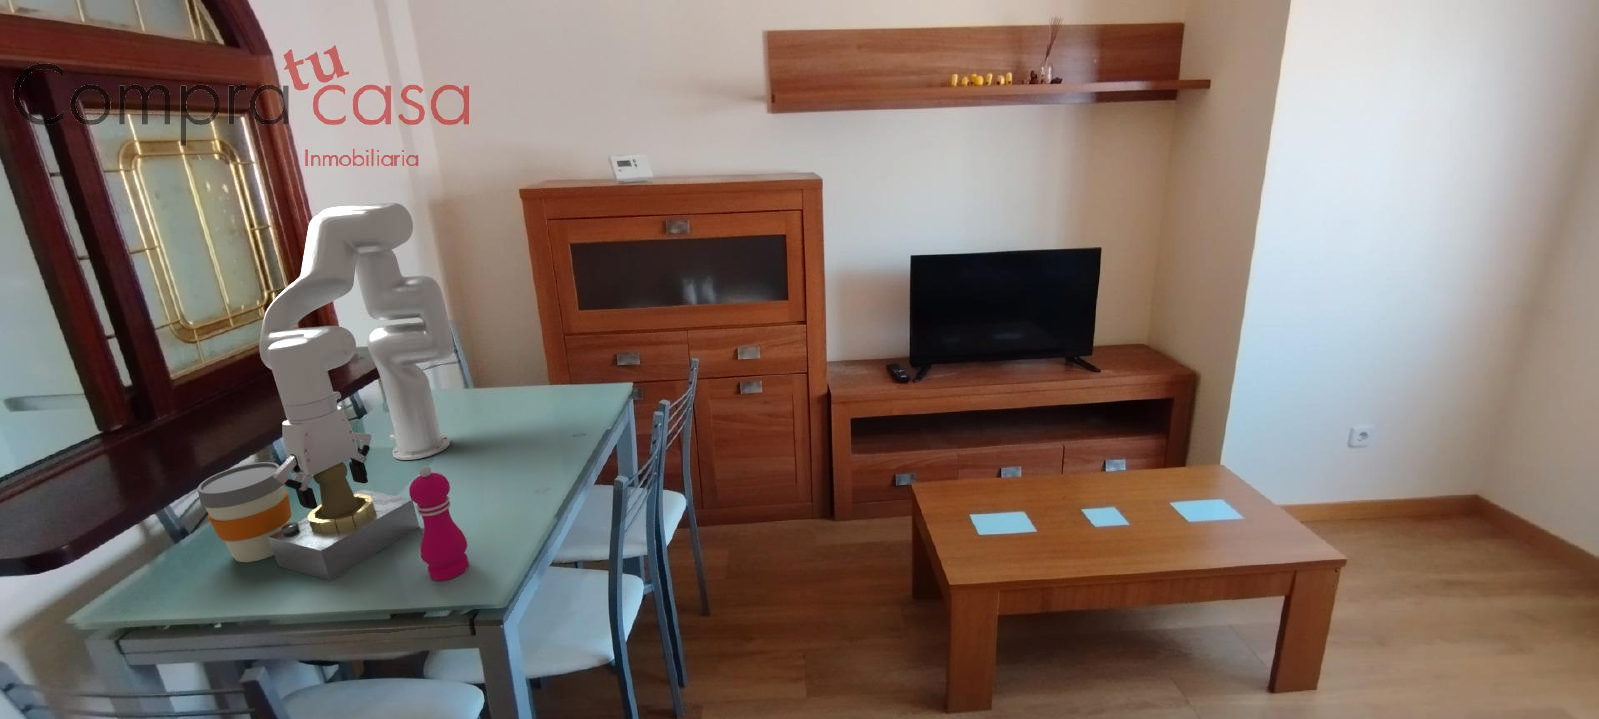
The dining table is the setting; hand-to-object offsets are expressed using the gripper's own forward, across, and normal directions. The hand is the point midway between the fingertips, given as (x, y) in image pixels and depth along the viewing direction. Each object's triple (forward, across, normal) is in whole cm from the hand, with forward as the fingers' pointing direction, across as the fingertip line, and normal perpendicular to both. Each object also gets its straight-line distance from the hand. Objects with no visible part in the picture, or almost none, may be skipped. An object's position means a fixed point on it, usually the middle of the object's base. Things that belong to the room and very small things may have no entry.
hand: (336, 494), depth 127 cm
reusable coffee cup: (+11, +6, -16) cm, 20 cm away
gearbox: (+11, 0, 0) cm, 11 cm away
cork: (+5, 0, 0) cm, 5 cm away
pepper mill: (+11, 0, +25) cm, 27 cm away
